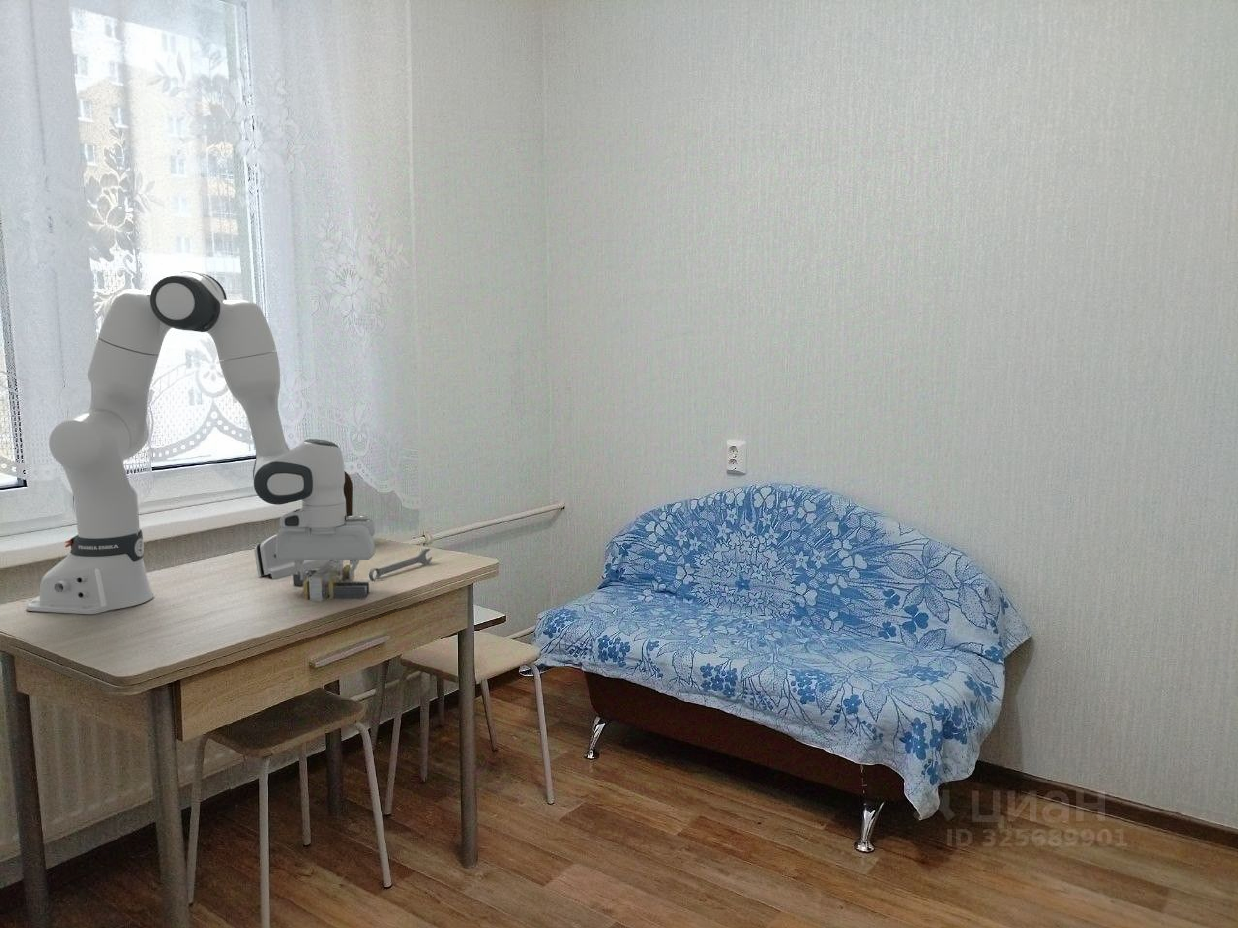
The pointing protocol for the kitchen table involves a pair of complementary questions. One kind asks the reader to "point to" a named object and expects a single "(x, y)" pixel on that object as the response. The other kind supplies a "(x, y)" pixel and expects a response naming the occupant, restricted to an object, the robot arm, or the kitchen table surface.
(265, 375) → the robot arm
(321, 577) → the long grey beam
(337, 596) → the ball bearing track
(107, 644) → the kitchen table surface
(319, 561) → the hinge
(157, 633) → the kitchen table surface
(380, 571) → the combination wrench
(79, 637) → the kitchen table surface
